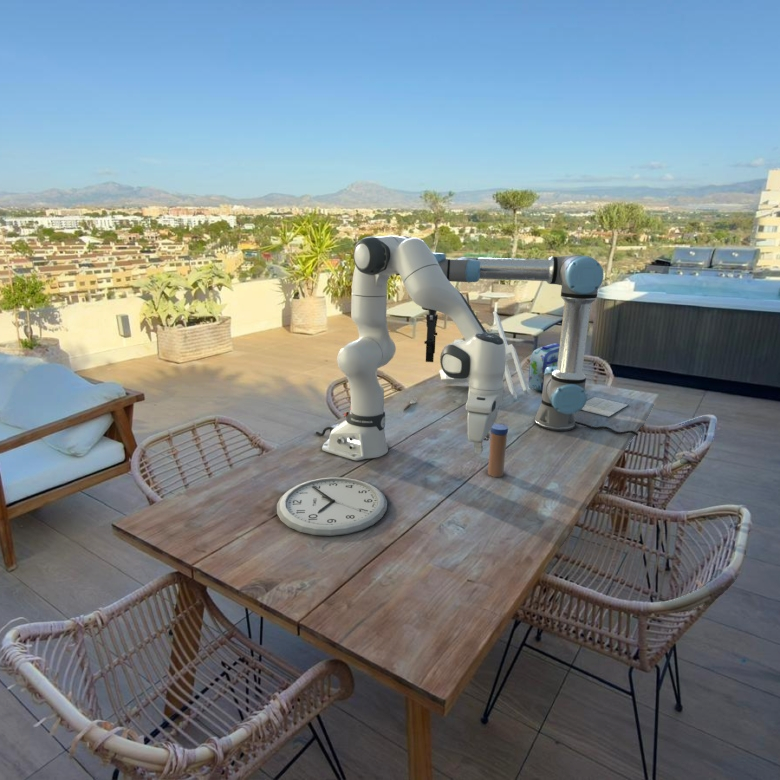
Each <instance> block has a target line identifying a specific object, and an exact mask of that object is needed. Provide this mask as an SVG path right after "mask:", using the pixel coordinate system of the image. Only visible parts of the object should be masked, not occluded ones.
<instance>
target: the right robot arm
mask: <svg viewBox="0 0 780 780" xmlns="http://www.w3.org/2000/svg"><path fill="white" fill-rule="evenodd" d="M432 253H433V255H434V256H435V258H436V260H437V262H438V264H439V265H440V267H441V269H442V271H443V273H444V275H445V276H446V278H447V279H448V280H449V282H452V283H453V282H457V283H468V284H470V283H477V282H479V281H480V280H495V281H497V280H499V281H500V280H501V281H526V282H527V281H531V282H546V283H547V284H548V285H557V286H561V289H560V298H561V299H562V300H563V303H564V305H563V313H562V322H561V330H560V339H559V344H560V346H559V355H558V364H557V366H553V367H547V368H546V369H545V373H544V382H543V391H541V392H542V394H541V402H540V405H539V407H538V410H537V411H536V413H535V417H534V424H535V425H536V426H537V427H539V428H542V429H544V430H549V431H556V432H567V431H572V430H574V429H575V428H576V425H579V426H582V427H586V428H588V429H591V430H602V429H603V430H608V431H609V432H611V433H614V434H616V435H626V434H633V435H634V436H639V433H637V432H636V431H634V430H625V431H617V430H615V429H613V428H611V427H609V426H606V425H605V426H604V425H601V426H592V425H589V424H586V423H583V422H581V421H576V418H575V417H576V416H575V414H576V413H579V412H580V411H582V410H581V409H582V408H583V407H584V406H585V404H586V401H588V397H587V392H586V389H585V388H586V383H587V382H586V381H587V375H586V374H585V373H584V371H583V369H584V361H585V355H586V347H587V339H588V338H587V337H588V330H589V324H590V318H591V317H590V316H591V308H592V303H593V302H594V301H596V300H597V298H598V294H599V293H598V291H599V288H601V285H602V284H603V281H604V269H603V267H602V265H601V264H600V262H599V261H597V260H596V259H595V258H594V257H592V256H587V255H581V254H574V255H573V254H572V255H565V256H551V257H549V258H548V259H545V258H544V259H543V258H542V259H541V258H540V259H539V258H501V257H500V258H497V257H496V258H495V257H494V258H492V257H466V256H460V257H457V258H455V259H451V258H449V259H448V258H447V257H446V253H444V252H432ZM421 309H422V310H423V311H428V313H426V316H425V320H426V340H424V342H423V343H424V344H425V362H426V363H434V359H435V357H434V356H435V353H436V338H437V337H436V336H438V332H437V329H436V328H437V324H438V318H439V315H438V314H437V312H438V311H435V310H431V309H427V308H423V307H421Z"/></svg>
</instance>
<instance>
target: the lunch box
mask: <svg viewBox="0 0 780 780" xmlns="http://www.w3.org/2000/svg"><path fill="white" fill-rule="evenodd" d="M559 346H560V343H551V344H548V345H544V346H541V347H538V348H536V349H534V350H533V351H532V353H531V355H530V359H529V370H528V371H529V372H528V389H531V390H536V391H541V392H543V382H544V373H545V369H546V368H547V367H553V366H557V364H558V355H559Z"/></svg>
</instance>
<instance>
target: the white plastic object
mask: <svg viewBox="0 0 780 780" xmlns="http://www.w3.org/2000/svg"><path fill="white" fill-rule="evenodd" d="M492 315H493V319H494V321H495V324H496V325H495V326H496V328H497V332H498V336H499V337H501V338H502V339H503V341H504V344H505V350H506V363H505V372H504V376H505V380H506V383H507V386H508V390H509V393H510V394H511V395H512V397H513V398H514V399H515V400H517V392H516V391H517V390H516V388H515V385H514V381H513V378H512V375H511V371H510V369H509V365H508V361H510V360H513V363H514V366H515V369H516V372H517V376H518V380H519V382H520V385H521V389H522V391H523V393H524V395H525V396H526V397H528V396H531V395H530V390H529V386H528V384H527V381H526V378H525V375H524V371H523V369H522V368H523V367H522V366H521V362H520V359H519V355H518V352H517V349H516V347H515V346H514V345H513V343H511V344H508V341H507V337H506V334H505V331H504V328H503V325H502V321H501V318H500V315H499V314H498V312H497V311H496V310H495V311H492ZM464 340H465V339H463V338H460V339H458V338H454V340H453V343H455V342H460V341H464ZM438 372H439V376H440V381H442V383H443V384H444V385H445V386H449V385H458V384H467V383H468V384H469V380H468V379H465V378H464V379H456V378H450V377H449V376H447V375H446V374H445V373H444V371H443V370H442V368H441V369H440V370H439V371H438Z"/></svg>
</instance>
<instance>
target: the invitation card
mask: <svg viewBox="0 0 780 780" xmlns="http://www.w3.org/2000/svg"><path fill="white" fill-rule="evenodd" d="M628 406H629V404H627V403H623V402H618V401H614V400H609V399H605V398H601V397H596V396H593V397H592V398H590V399H587V401H586V404H585V406H584V407H583V408H582V409H581V410H580V411H584V412H587V413H593V414H596V415H600V416H604V417H608V418H609V417H611V416H613V415H614V414H616V413H617V412H619V411H621V410H623V409H624V408H626V407H628Z"/></svg>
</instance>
